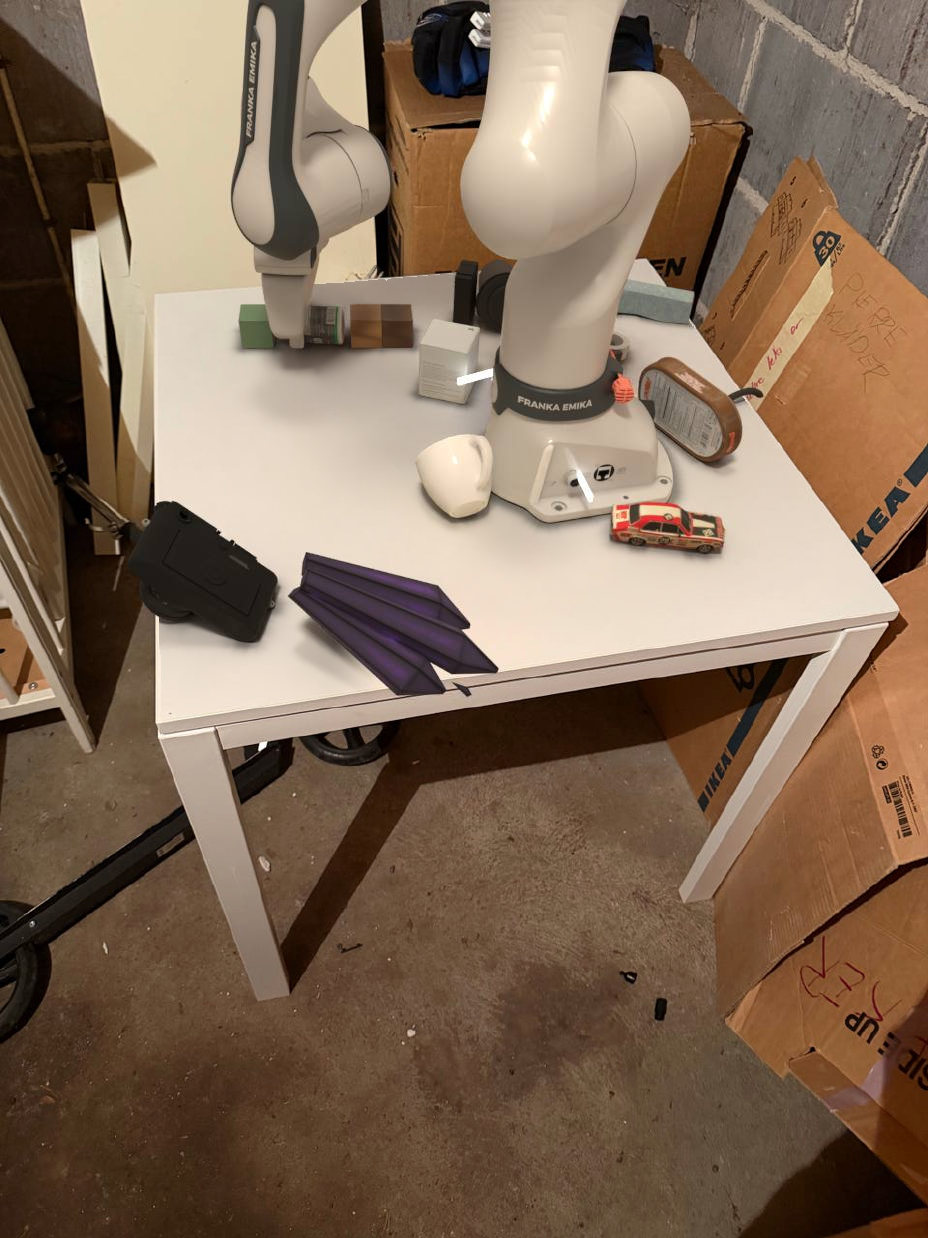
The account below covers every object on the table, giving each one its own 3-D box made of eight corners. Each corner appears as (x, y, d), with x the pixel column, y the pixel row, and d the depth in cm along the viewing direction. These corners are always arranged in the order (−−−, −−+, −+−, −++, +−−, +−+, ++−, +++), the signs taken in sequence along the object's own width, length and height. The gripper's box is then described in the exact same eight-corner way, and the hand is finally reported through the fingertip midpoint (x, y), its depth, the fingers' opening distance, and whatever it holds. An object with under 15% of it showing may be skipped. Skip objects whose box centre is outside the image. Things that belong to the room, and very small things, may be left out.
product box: (432, 369, 113) (433, 317, 108) (477, 378, 112) (481, 326, 107) (417, 395, 109) (418, 342, 104) (464, 405, 109) (468, 352, 103)
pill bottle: (345, 340, 118) (282, 337, 118) (344, 303, 116) (280, 299, 115) (341, 348, 114) (275, 345, 114) (340, 310, 111) (273, 306, 111)
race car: (611, 523, 98) (612, 491, 95) (723, 529, 95) (728, 496, 92) (607, 554, 95) (608, 522, 91) (723, 560, 92) (728, 528, 89)
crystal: (311, 544, 84) (496, 637, 87) (258, 644, 78) (457, 740, 81) (327, 508, 78) (525, 609, 81) (270, 614, 72) (485, 719, 75)
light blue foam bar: (539, 257, 126) (537, 270, 129) (529, 300, 125) (528, 312, 128) (696, 286, 125) (691, 299, 128) (688, 330, 124) (683, 341, 127)
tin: (732, 468, 103) (754, 408, 97) (713, 477, 102) (734, 416, 95) (646, 402, 111) (661, 342, 105) (627, 409, 110) (641, 349, 103)
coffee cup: (537, 269, 124) (549, 296, 116) (504, 318, 128) (513, 346, 120) (490, 237, 120) (499, 262, 113) (457, 288, 124) (464, 316, 117)
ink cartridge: (459, 312, 122) (462, 256, 116) (475, 315, 122) (478, 259, 116) (451, 331, 119) (453, 274, 113) (467, 333, 119) (471, 277, 113)
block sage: (275, 331, 117) (272, 303, 114) (273, 348, 115) (270, 320, 112) (244, 331, 117) (240, 303, 114) (242, 348, 114) (238, 320, 111)
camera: (230, 664, 85) (255, 603, 90) (270, 635, 81) (294, 573, 86) (95, 584, 79) (130, 523, 84) (131, 547, 74) (165, 486, 80)
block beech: (381, 331, 119) (380, 303, 116) (382, 347, 116) (381, 320, 113) (351, 331, 118) (349, 303, 115) (351, 347, 116) (350, 320, 113)
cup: (479, 522, 98) (460, 468, 100) (529, 480, 91) (509, 421, 92) (421, 527, 94) (402, 470, 95) (469, 483, 86) (448, 422, 87)
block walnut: (411, 331, 119) (411, 303, 116) (412, 347, 116) (412, 319, 113) (381, 331, 119) (380, 303, 116) (382, 347, 116) (381, 320, 113)
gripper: (276, 186, 112) (287, 289, 122) (250, 266, 98) (265, 373, 109) (326, 189, 112) (333, 291, 122) (307, 269, 98) (316, 376, 109)
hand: (301, 330), depth 115 cm, fingers open, 5 cm apart
